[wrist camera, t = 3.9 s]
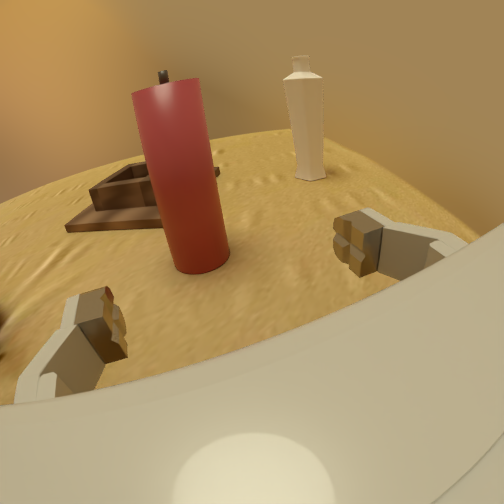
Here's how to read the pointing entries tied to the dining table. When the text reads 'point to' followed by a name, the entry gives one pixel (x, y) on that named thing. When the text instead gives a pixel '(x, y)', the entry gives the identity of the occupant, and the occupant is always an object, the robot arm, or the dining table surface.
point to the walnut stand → (121, 202)
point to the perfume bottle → (306, 118)
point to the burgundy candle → (182, 172)
